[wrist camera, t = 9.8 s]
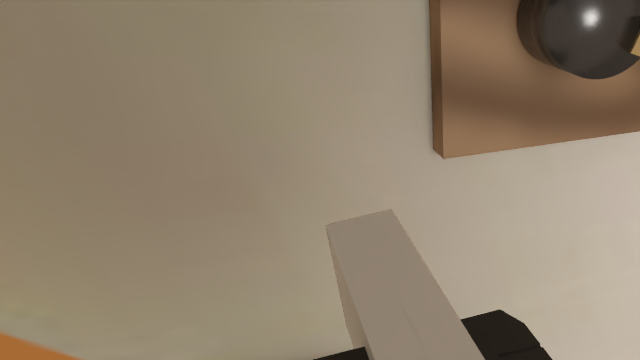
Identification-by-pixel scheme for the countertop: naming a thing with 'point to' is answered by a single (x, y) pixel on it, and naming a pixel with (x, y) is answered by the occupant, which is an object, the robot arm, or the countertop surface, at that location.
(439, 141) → the base
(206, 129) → the countertop surface
